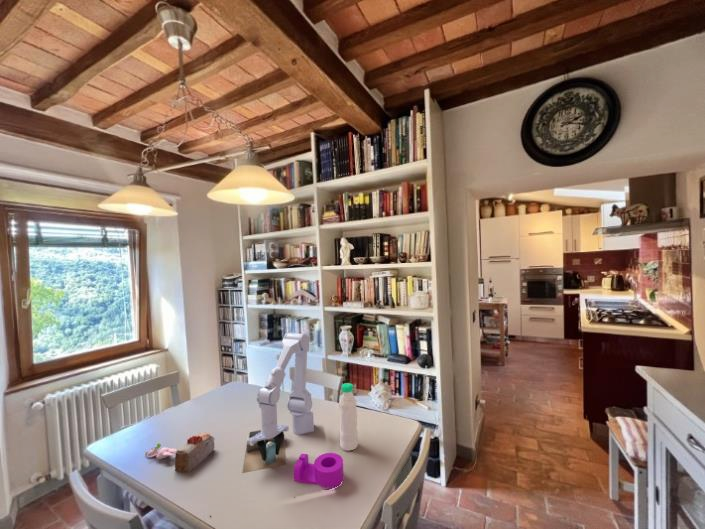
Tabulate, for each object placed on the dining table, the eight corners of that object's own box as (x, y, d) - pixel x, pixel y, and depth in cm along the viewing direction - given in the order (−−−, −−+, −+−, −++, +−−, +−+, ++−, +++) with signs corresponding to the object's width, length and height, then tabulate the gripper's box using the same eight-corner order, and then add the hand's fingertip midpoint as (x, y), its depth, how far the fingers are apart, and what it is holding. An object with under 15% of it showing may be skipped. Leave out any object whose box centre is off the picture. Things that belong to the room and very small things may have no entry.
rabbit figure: (141, 462, 115) (168, 464, 110) (139, 447, 115) (166, 448, 110) (157, 452, 121) (183, 454, 115) (154, 438, 121) (181, 438, 116)
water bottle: (360, 443, 120) (358, 382, 120) (353, 453, 114) (351, 389, 114) (345, 439, 123) (343, 380, 123) (337, 449, 117) (335, 386, 117)
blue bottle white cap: (275, 455, 112) (275, 438, 112) (275, 462, 109) (275, 445, 108) (265, 457, 111) (264, 440, 111) (264, 464, 108) (264, 447, 107)
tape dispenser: (346, 471, 105) (345, 454, 105) (339, 493, 95) (338, 474, 95) (304, 466, 108) (303, 449, 108) (293, 487, 98) (292, 468, 98)
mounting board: (284, 436, 127) (284, 433, 127) (285, 467, 107) (285, 464, 107) (247, 443, 123) (247, 440, 123) (242, 476, 104) (242, 472, 104)
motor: (283, 435, 125) (283, 422, 125) (284, 445, 119) (283, 431, 118) (248, 442, 122) (247, 428, 122) (246, 452, 115) (246, 438, 115)
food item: (198, 450, 119) (198, 426, 119) (216, 452, 118) (215, 427, 118) (172, 474, 106) (171, 447, 106) (192, 477, 104) (191, 449, 104)
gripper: (282, 409, 118) (283, 443, 118) (245, 422, 108) (247, 459, 109) (290, 416, 112) (291, 452, 112) (252, 431, 103) (253, 469, 103)
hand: (270, 456), depth 110 cm, fingers open, 4 cm apart
